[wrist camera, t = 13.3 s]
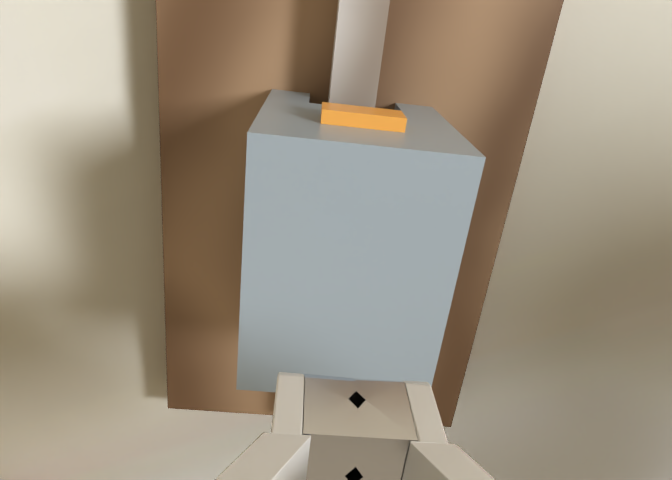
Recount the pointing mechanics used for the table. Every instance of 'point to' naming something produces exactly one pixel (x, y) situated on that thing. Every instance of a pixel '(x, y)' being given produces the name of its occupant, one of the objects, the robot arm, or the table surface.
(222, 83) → the rail board
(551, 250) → the table surface
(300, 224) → the block
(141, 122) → the table surface
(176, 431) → the table surface
